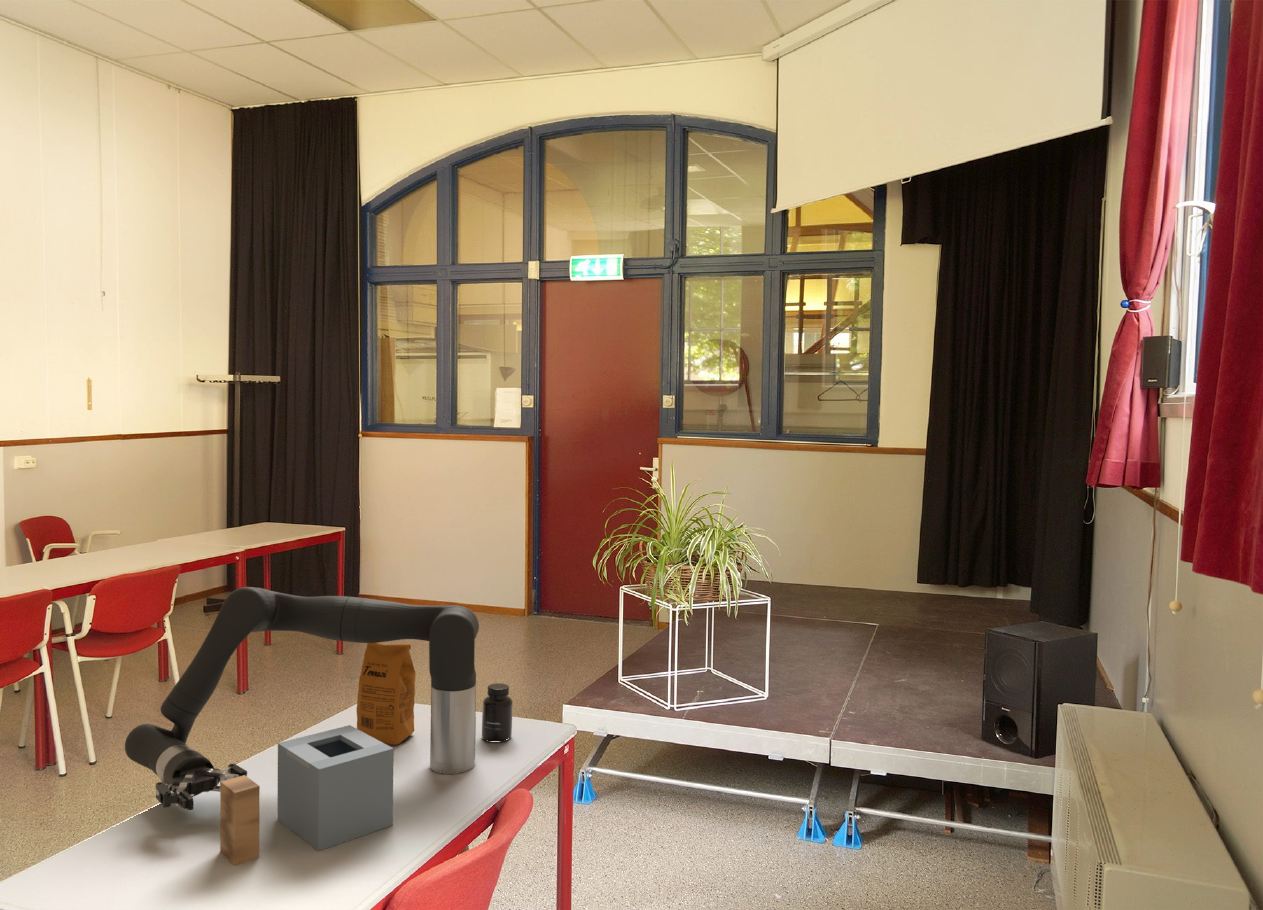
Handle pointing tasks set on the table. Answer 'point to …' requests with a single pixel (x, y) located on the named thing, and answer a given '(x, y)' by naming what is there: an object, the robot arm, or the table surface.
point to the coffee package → (386, 693)
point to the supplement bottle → (497, 713)
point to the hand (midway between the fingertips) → (217, 797)
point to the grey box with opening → (335, 786)
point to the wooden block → (239, 819)
